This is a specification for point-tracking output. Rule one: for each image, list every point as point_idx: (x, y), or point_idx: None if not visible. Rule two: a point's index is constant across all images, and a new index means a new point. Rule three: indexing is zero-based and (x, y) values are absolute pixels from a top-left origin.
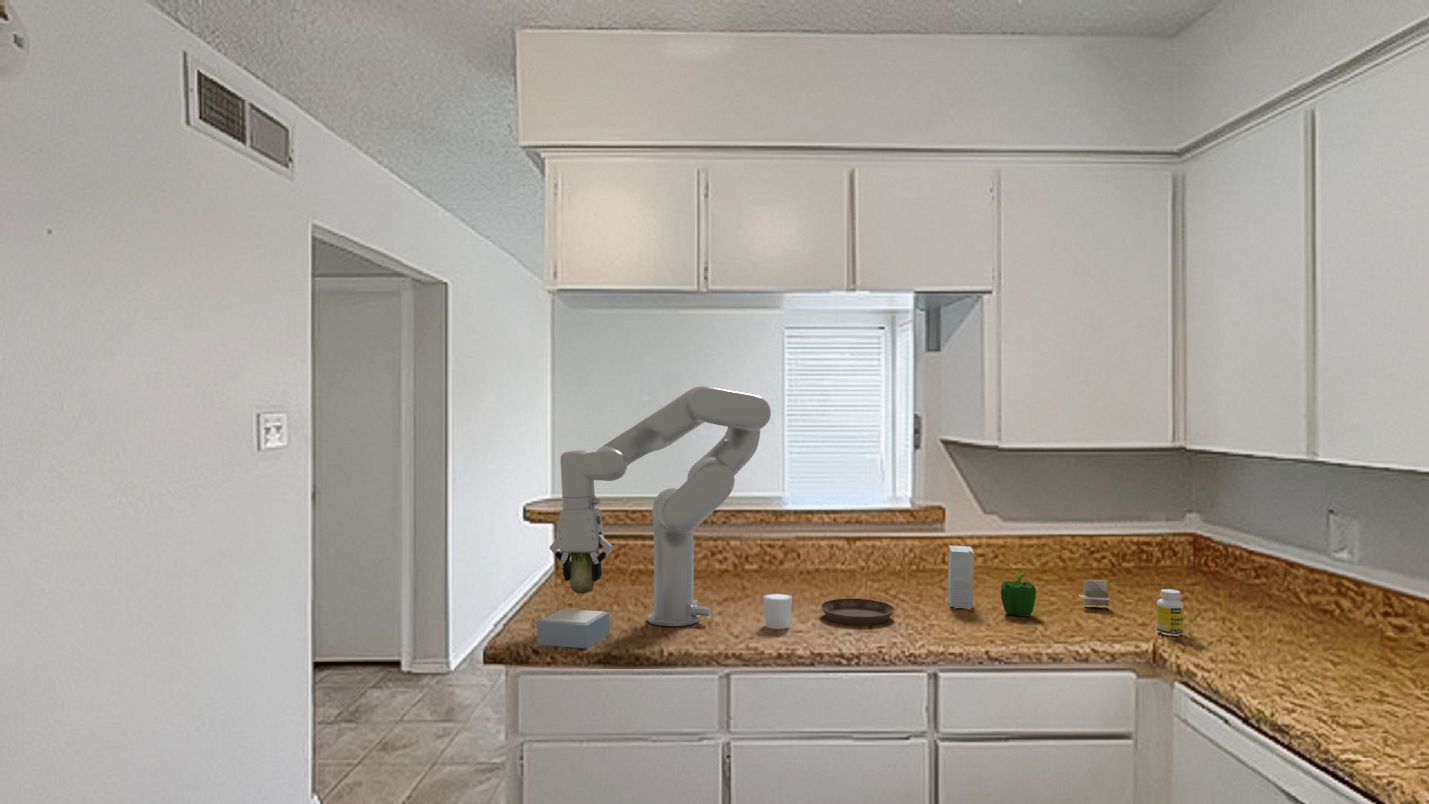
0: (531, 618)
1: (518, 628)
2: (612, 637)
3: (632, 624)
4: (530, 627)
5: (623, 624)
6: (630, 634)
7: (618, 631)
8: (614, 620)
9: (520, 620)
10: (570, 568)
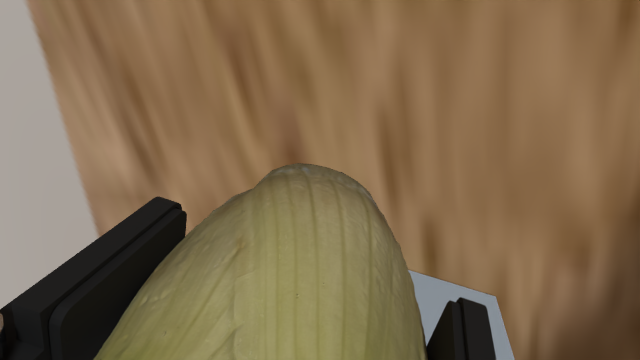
0: (71, 3)
1: (101, 185)
2: (509, 333)
3: (633, 122)
4: (138, 171)
5: (576, 122)
6: (597, 301)
7: (540, 251)
8: (524, 28)
9: (43, 48)
10: (115, 315)
